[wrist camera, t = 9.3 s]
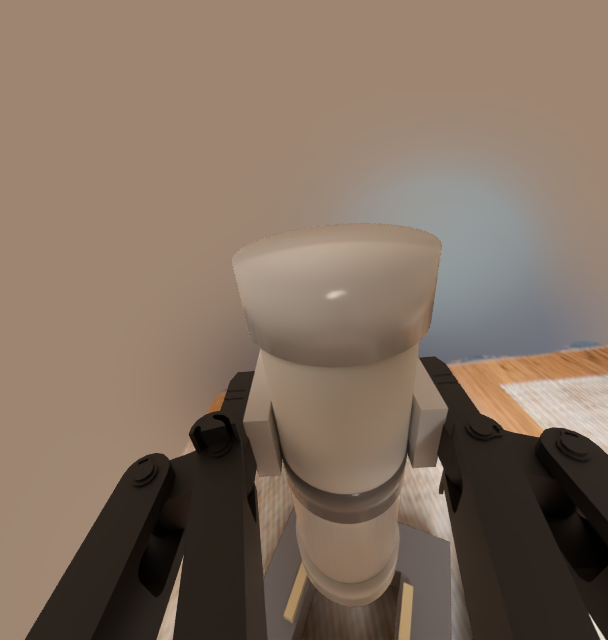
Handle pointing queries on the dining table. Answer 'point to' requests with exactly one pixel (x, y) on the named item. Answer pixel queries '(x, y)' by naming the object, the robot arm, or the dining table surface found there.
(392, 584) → the fuse socket
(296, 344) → the cylinder
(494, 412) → the dining table surface
